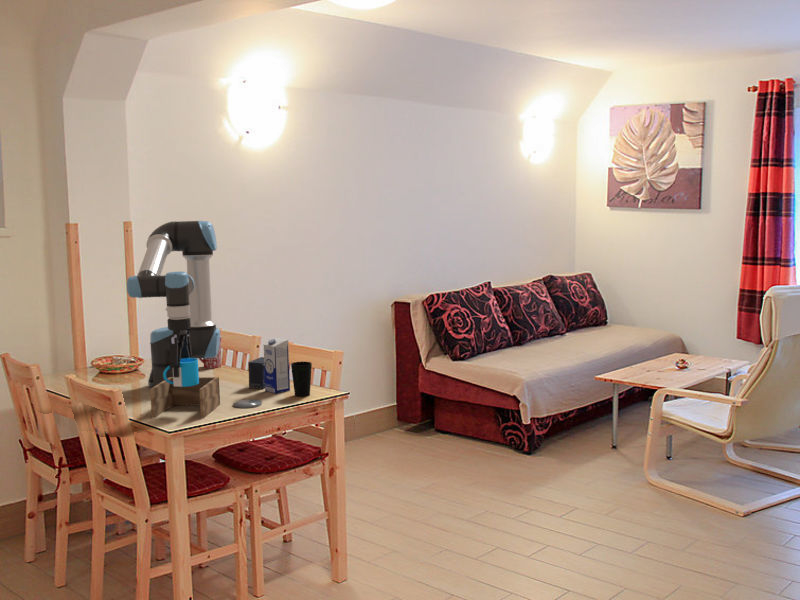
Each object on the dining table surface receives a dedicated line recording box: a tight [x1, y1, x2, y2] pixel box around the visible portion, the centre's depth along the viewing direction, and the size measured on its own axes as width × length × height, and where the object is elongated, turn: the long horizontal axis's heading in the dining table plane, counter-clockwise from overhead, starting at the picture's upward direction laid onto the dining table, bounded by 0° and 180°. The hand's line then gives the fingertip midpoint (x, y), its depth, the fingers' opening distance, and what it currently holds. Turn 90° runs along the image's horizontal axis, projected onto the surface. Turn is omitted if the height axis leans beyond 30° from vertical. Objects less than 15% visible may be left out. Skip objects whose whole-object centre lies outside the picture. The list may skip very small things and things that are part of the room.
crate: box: [149, 376, 221, 419], centre depth 278 cm, size 18×18×10 cm
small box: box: [247, 356, 265, 390], centre depth 315 cm, size 11×6×10 cm, turn 161°
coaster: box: [232, 399, 263, 409], centre depth 286 cm, size 10×10×1 cm
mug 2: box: [198, 335, 223, 369], centre depth 352 cm, size 13×9×14 cm
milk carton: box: [263, 337, 291, 395], centre depth 305 cm, size 7×7×20 cm
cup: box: [290, 361, 313, 398], centre depth 298 cm, size 8×8×12 cm
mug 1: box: [163, 358, 200, 387], centre depth 273 cm, size 12×8×8 cm
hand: (182, 382), depth 275 cm, fingers closed on mug 1, 8 cm apart
